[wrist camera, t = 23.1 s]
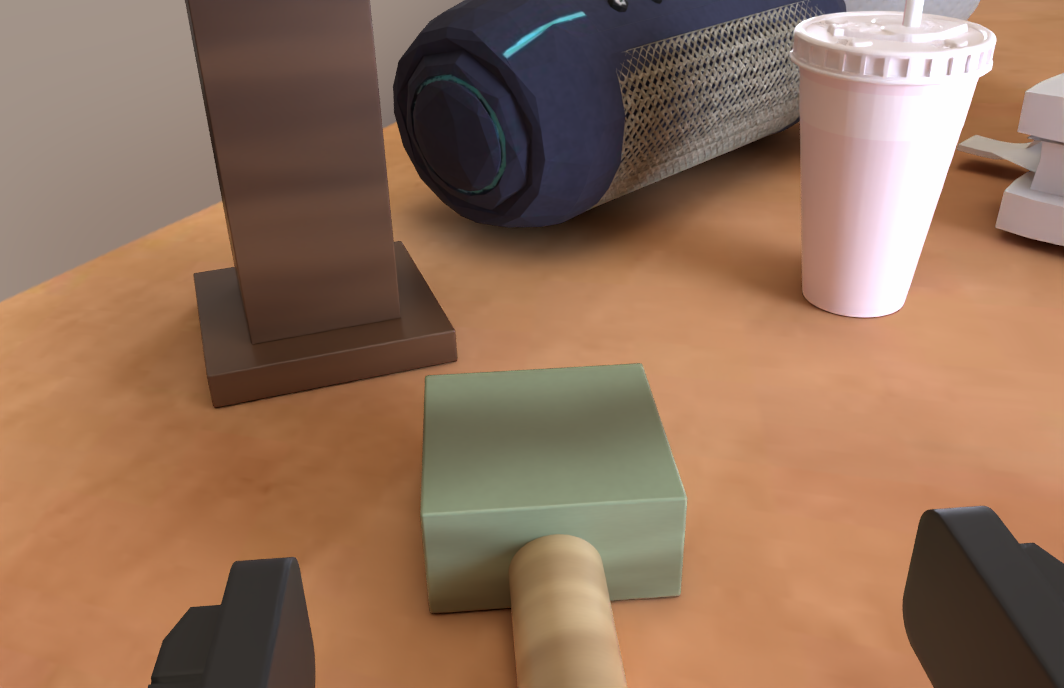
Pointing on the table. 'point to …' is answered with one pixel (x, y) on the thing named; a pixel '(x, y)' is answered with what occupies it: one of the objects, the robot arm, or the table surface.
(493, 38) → the portable speaker
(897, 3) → the cereal bowl
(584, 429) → the green wooden mallet
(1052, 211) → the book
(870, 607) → the table surface
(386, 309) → the stand
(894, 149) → the smoothie
